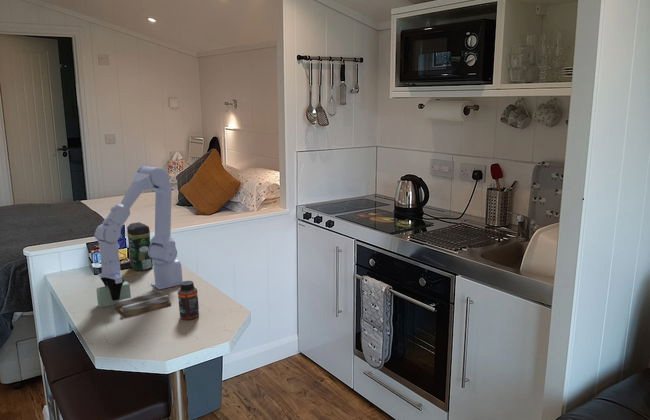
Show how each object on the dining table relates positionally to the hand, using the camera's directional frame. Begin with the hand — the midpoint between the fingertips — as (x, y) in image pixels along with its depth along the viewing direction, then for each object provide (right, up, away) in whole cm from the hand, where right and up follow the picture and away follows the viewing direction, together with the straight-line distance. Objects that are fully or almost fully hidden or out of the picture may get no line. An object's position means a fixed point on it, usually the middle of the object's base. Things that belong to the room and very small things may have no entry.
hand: (114, 298), depth 177 cm
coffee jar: (-3, +6, +37) cm, 37 cm away
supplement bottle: (+29, -4, -12) cm, 31 cm away
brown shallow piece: (+11, -2, -4) cm, 12 cm away
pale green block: (0, -2, 0) cm, 2 cm away
